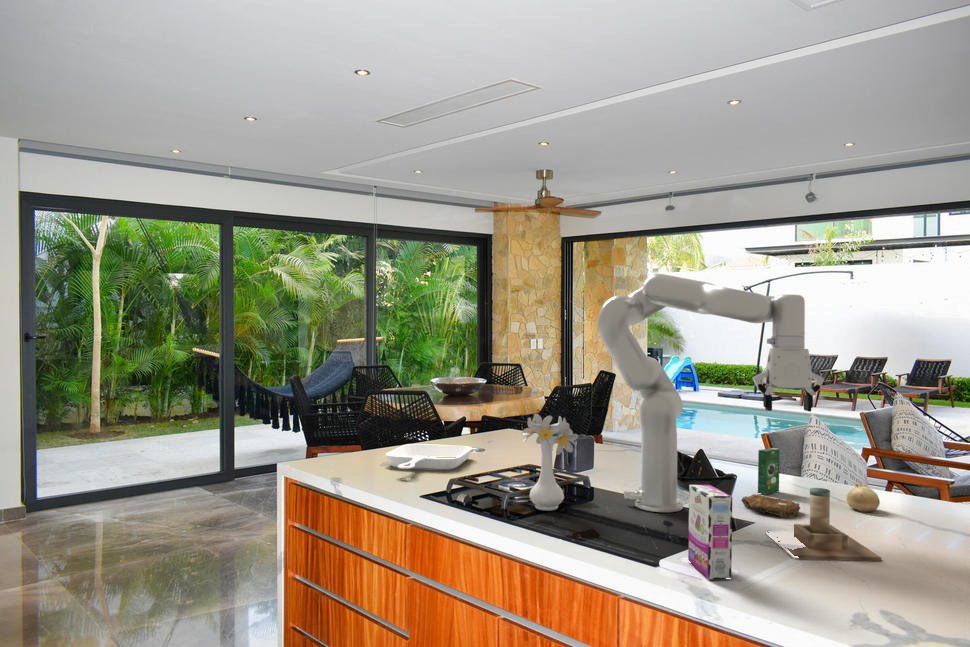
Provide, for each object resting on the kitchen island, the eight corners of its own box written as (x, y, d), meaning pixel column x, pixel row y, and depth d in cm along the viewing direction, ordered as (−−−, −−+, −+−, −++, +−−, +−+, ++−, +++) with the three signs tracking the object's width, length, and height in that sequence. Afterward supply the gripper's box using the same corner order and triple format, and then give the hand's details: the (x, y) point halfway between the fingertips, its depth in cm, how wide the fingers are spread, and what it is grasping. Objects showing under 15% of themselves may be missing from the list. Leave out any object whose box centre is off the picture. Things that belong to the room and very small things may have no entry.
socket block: (793, 558, 150) (794, 540, 150) (765, 533, 168) (765, 517, 168) (881, 561, 149) (881, 543, 149) (843, 535, 167) (843, 519, 167)
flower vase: (554, 519, 179) (555, 421, 179) (509, 504, 193) (509, 414, 193) (590, 511, 186) (591, 417, 186) (544, 498, 201) (545, 410, 201)
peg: (814, 545, 156) (814, 491, 156) (806, 540, 160) (806, 487, 160) (832, 546, 156) (833, 492, 156) (825, 540, 160) (825, 488, 160)
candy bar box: (733, 580, 137) (733, 496, 137) (708, 581, 136) (709, 496, 136) (710, 561, 148) (710, 483, 148) (687, 561, 147) (687, 483, 147)
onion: (883, 510, 191) (883, 484, 191) (875, 516, 185) (875, 489, 185) (851, 505, 196) (851, 479, 196) (842, 510, 190) (842, 484, 190)
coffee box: (770, 489, 213) (771, 446, 213) (780, 491, 211) (780, 448, 211) (756, 493, 208) (757, 449, 208) (766, 495, 206) (766, 451, 206)
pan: (475, 458, 262) (475, 446, 262) (443, 483, 220) (443, 468, 220) (406, 455, 268) (406, 443, 268) (363, 478, 227) (363, 464, 227)
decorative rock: (733, 513, 188) (793, 525, 180) (734, 498, 188) (793, 509, 179) (746, 502, 198) (803, 513, 189) (746, 488, 197) (803, 498, 189)
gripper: (758, 343, 175) (757, 411, 175) (829, 343, 174) (829, 412, 174) (748, 342, 183) (748, 408, 182) (817, 343, 181) (816, 409, 181)
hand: (787, 410), depth 178 cm, fingers open, 9 cm apart
